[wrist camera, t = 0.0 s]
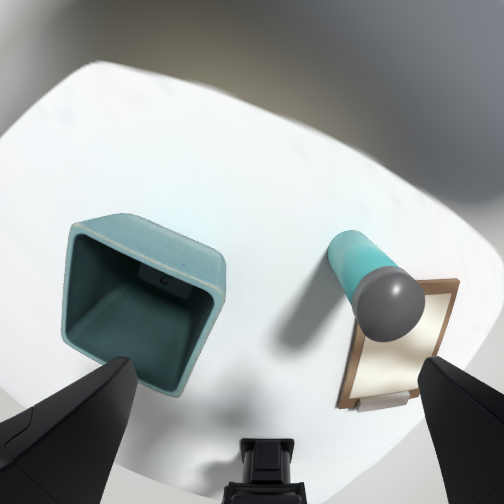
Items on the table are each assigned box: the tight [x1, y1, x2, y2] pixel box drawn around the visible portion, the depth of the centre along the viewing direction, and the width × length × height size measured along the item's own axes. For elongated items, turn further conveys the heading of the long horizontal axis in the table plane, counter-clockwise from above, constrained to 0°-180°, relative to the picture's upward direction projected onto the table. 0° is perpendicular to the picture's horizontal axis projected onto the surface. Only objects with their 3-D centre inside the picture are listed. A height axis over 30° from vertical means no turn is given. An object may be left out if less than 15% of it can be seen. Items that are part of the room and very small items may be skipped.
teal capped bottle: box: [328, 230, 425, 342], centre depth 17 cm, size 4×4×9 cm
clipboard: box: [338, 278, 460, 412], centre depth 24 cm, size 15×10×1 cm, turn 1°
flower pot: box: [61, 213, 226, 398], centre depth 18 cm, size 9×9×9 cm
